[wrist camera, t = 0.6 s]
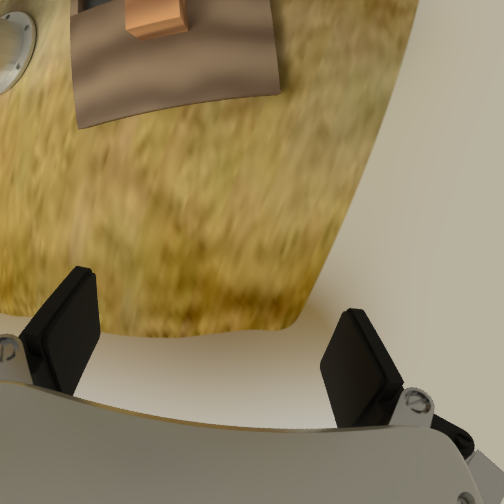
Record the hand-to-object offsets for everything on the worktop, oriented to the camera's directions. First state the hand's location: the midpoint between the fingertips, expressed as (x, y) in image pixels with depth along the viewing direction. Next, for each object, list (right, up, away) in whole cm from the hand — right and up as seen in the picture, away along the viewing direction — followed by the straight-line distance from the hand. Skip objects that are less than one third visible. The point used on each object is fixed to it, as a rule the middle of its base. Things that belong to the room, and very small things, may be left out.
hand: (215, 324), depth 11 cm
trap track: (-8, +28, +15) cm, 32 cm away
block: (-8, +27, +12) cm, 30 cm away
